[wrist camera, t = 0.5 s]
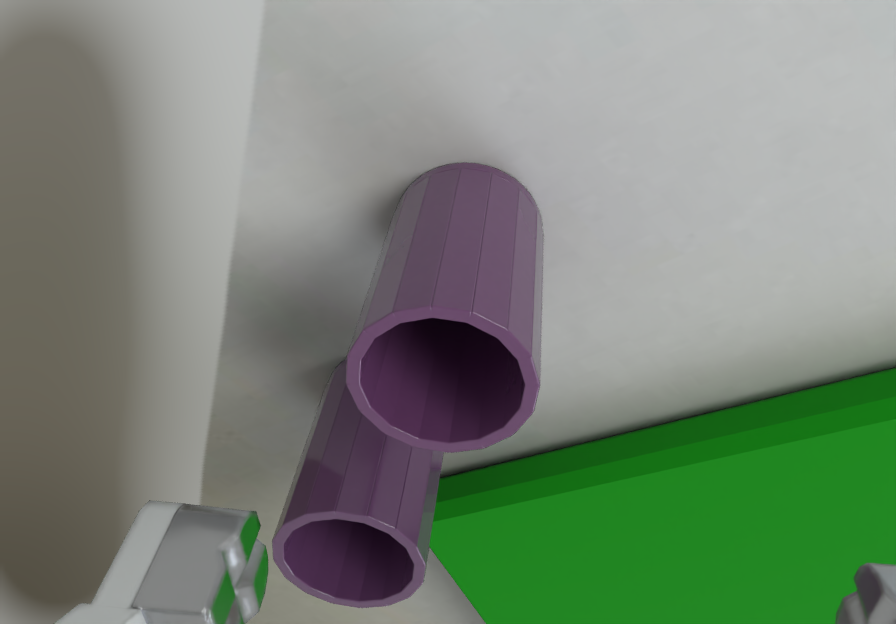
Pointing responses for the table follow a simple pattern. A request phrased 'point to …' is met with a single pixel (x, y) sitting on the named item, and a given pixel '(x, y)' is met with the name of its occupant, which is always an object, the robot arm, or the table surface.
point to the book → (685, 517)
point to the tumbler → (357, 508)
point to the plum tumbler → (453, 313)
